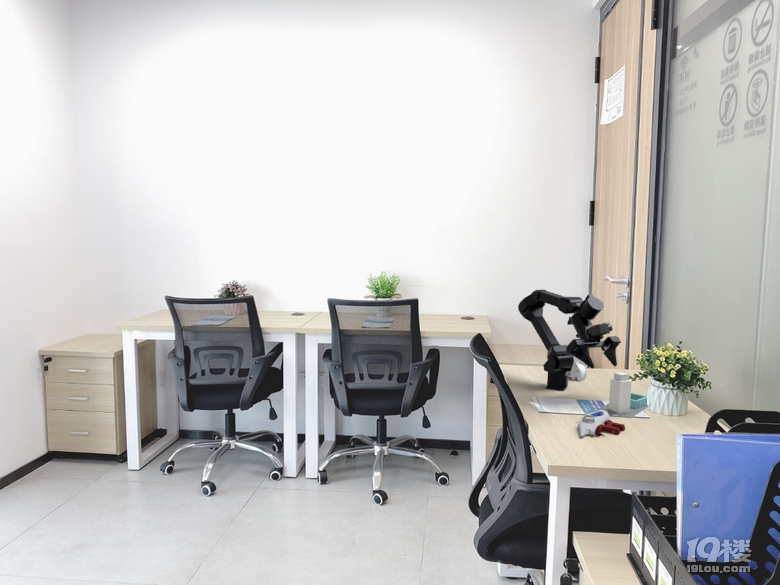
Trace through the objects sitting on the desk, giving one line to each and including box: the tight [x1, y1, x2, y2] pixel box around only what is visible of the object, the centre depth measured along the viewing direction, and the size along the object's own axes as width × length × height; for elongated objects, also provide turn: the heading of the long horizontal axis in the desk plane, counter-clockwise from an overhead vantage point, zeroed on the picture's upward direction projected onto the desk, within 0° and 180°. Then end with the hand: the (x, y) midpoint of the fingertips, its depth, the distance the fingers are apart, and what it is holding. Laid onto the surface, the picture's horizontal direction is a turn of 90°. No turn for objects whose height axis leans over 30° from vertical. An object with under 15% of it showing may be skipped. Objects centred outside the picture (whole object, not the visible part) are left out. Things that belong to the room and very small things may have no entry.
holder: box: [630, 392, 647, 409], centre depth 206 cm, size 8×8×2 cm
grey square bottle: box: [608, 371, 632, 413], centre depth 198 cm, size 4×4×12 cm
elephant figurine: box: [567, 359, 589, 382], centre depth 241 cm, size 8×10×7 cm
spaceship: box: [577, 410, 611, 438], centre depth 185 cm, size 23×7×4 cm, turn 145°
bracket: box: [594, 419, 626, 437], centre depth 180 cm, size 3×6×10 cm
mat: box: [595, 403, 650, 419], centre depth 202 cm, size 21×11×1 cm, turn 139°
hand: (604, 366), depth 204 cm, fingers open, 9 cm apart
